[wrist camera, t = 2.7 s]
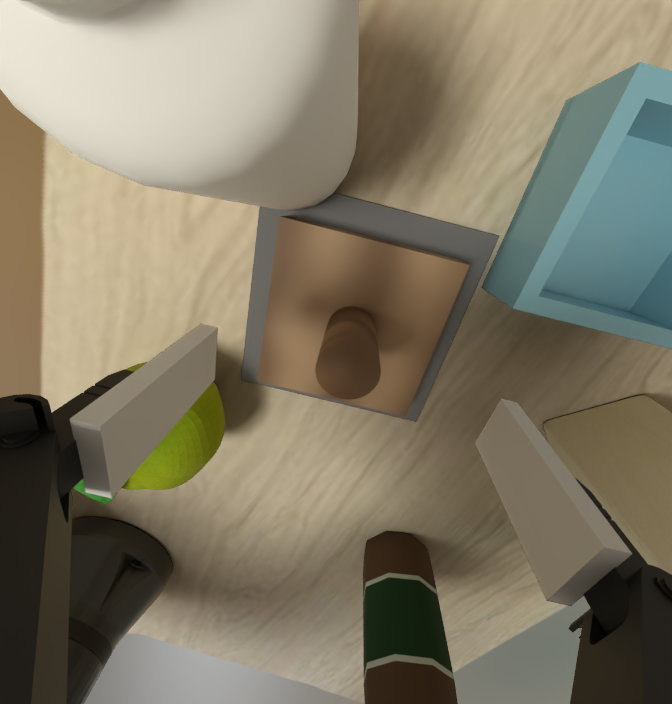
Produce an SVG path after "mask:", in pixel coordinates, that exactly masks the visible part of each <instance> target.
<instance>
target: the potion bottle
mask: <svg viewBox="0 0 672 704" xmlns="http://www.w3.org/2000/svg"><path fill="white" fill-rule="evenodd" d="M358 59H359V0H0V89H1V90H2V92H3V93H4V94H5V95H6V96H7V98H8V99H9V100H10V101H11V103H12V104H13V105H14V106H15V108H17V109H18V110H19V111H20V112H22V113H23V114H24V115H26V116H27V117H28V118H29V119H30V120H32V121H33V122H34V123H35V124H37V125H38V126H39V127H40V128H42V129H43V130H44V131H45V132H47V133H48V134H49V135H50V136H52V137H53V138H54V139H55V140H57V141H58V142H59V143H60V144H62V145H63V146H64V147H65V148H67V149H68V150H69V151H70V152H72V153H74V154H76V155H78V156H79V157H81V158H83V159H85V160H87V161H89V162H91V163H93V164H96V165H98V166H100V167H103V168H105V169H107V170H110V171H112V172H114V173H116V174H119V175H121V176H123V177H126V178H128V179H130V180H133V181H135V182H137V183H140V184H142V185H145V186H150V187H156V188H162V189H167V190H173V191H178V192H184V193H189V194H195V195H200V196H206V197H211V198H217V199H222V200H228V201H234V202H239V203H245V204H250V205H256V206H261V207H267V208H272V209H280V210H292V211H297V210H301V209H305V208H308V207H312V206H316V205H317V204H318V203H320V202H321V201H323V200H324V199H326V198H327V197H328V196H330V195H331V194H333V193H334V191H335V190H336V189H337V187H338V186H339V185H340V183H341V182H342V181H343V179H344V178H345V177H346V175H347V173H348V170H349V168H350V165H351V162H352V160H353V157H354V154H355V151H356V140H357V129H358Z"/></svg>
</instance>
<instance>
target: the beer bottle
mask: <svg viewBox="0 0 672 704" xmlns="http://www.w3.org/2000/svg"><path fill="white" fill-rule="evenodd" d="M363 619H364V694H365V704H457V697H456V689H455V682H454V677H453V672H452V666H451V661H450V656H449V651H448V646H447V641H446V636H445V631H444V626H443V621H442V616H441V611H440V606H439V601H438V596H437V591H436V585H435V580H434V575H433V570H432V565H431V561H430V557H429V554H428V550H427V548H426V547H425V546H424V545H423V544H422V543H421V542H420V541H419V540H417V539H416V538H415V537H414V536H413V535H412V534H409V533H399V532H389V531H386V532H384V533H382V534H380V535H377V536H375V537H373V538H371V539H369V540H367V542H366V547H365V554H364V568H363Z"/></svg>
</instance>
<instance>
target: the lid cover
mask: <svg viewBox="0 0 672 704" xmlns="http://www.w3.org/2000/svg"><path fill="white" fill-rule="evenodd" d="M469 266H470V265H468V264H466V263H465V262H463V261H461V260H459V259H456V258H452V257H448V256H444V255H440V254H437V253H433V252H429V251H425V250H421V249H417V248H413V247H409V246H406V245H402V244H398V243H394V242H390V241H386V240H382V239H378V238H375V237H371V236H367V235H363V234H359V233H355V232H351V231H347V230H344V229H340V228H336V227H332V226H328V225H324V224H320V223H316V222H312V221H309V220H305V219H301V218H297V217H293V216H289V215H287V216H280V217H279V224H278V232H277V239H276V246H275V254H274V261H273V268H272V275H271V283H270V290H269V297H268V305H267V312H266V319H265V327H264V334H263V341H262V349H261V356H260V363H259V371H258V378H257V381H259V382H263V383H267V384H271V385H275V386H280V387H284V388H288V389H292V390H296V391H301V392H305V393H309V394H313V395H317V396H322V397H326V398H330V399H334V400H338V401H343V402H347V403H351V404H355V405H359V406H363V407H368V408H372V409H376V410H380V411H384V412H389V413H393V414H397V415H401V416H405V417H406V415H407V413H408V411H409V408H410V406H411V403H412V401H413V399H414V396H415V394H416V392H417V389H418V387H419V384H420V382H421V380H422V377H423V375H424V373H425V370H426V368H427V365H428V363H429V361H430V358H431V356H432V354H433V351H434V349H435V347H436V344H437V342H438V339H439V337H440V335H441V332H442V330H443V328H444V325H445V323H446V320H447V318H448V316H449V313H450V311H451V309H452V306H453V304H454V301H455V299H456V297H457V294H458V292H459V290H460V287H461V285H462V283H463V280H464V278H465V275H466V273H467V271H468V268H469Z"/></svg>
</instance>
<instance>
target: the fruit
mask: <svg viewBox="0 0 672 704" xmlns="http://www.w3.org/2000/svg"><path fill="white" fill-rule="evenodd" d="M146 363H147V362H145V363H141V364H138V365H135V366H132V367H130V368H128V369H126V370H130V371H134V372H135V371H136V370H138V369H139V368H140V367H142V366H143V365H145V364H146ZM224 428H225V416H224V409H223V404H222V400H221V397H220V393H219V390H218V388H217V386H216V384H215V383H214V382H212V383H211V384H210V385H209V387H208V388H207V389H206V390H205V391H204V392H203V394H202V395H201V396H200V397H199V398H198V399H197V400H196V402H195V403H194V404H193V405H192V406H191V407H190V409H189V410H188V411H187V412H186V413H185V414H184V416H183V417H182V418H181V419H180V420H179V421H178V423H177V424H176V425H175V426H174V427H173V428H172V429H171V431H170V432H169V433H168V434H167V435H166V436H165V438H164V439H163V440H162V441H161V442H160V443H159V445H158V446H157V447H156V448H155V449H154V450H153V451H152V453H151V454H150V455H149V456H148V457H147V458H146V460H145V461H144V462H143V463H142V464H141V465H140V467H139V468H138V469H137V470H136V471H135V472H134V473H133V475H132V476H131V477H130V478H129V479H128V480H127V482H126V483H125V484H124V485H123V486H122V487H121V488H125V489H156V490H165V489H170V488H174V487H177V486H179V485H182V484H184V483H185V482H187V481H188V480H190V479H191V478H192V477H193V476H195V475H196V474H197V473H198V472H199V471H200V470H201V469H202V468H203V467H204V466H205V465H206V464H207V463H208V461H209V460H210V459H211V458H212V457H213V456H214V454H215V453H216V451H217V450H218V448H219V446H220V444H221V441H222V438H223V435H224ZM74 489H75V490H77V491H78V492H80V493H82V494H84V495H85V496H87V497H89V498H91V499H93V500H95V501H98V502H101V503H108V502H110V501H111V500H112V499H113V498H114V497H115V496H114V497H113V498H107V497H103V496H99V495H95V494H90V493H86V492H85V487H84V483H83V479H82V480H81V481H80V482H79V483H78V484H77V485H76V486H75V487H74ZM116 494H117V493H116ZM116 494H115V495H116Z"/></svg>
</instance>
